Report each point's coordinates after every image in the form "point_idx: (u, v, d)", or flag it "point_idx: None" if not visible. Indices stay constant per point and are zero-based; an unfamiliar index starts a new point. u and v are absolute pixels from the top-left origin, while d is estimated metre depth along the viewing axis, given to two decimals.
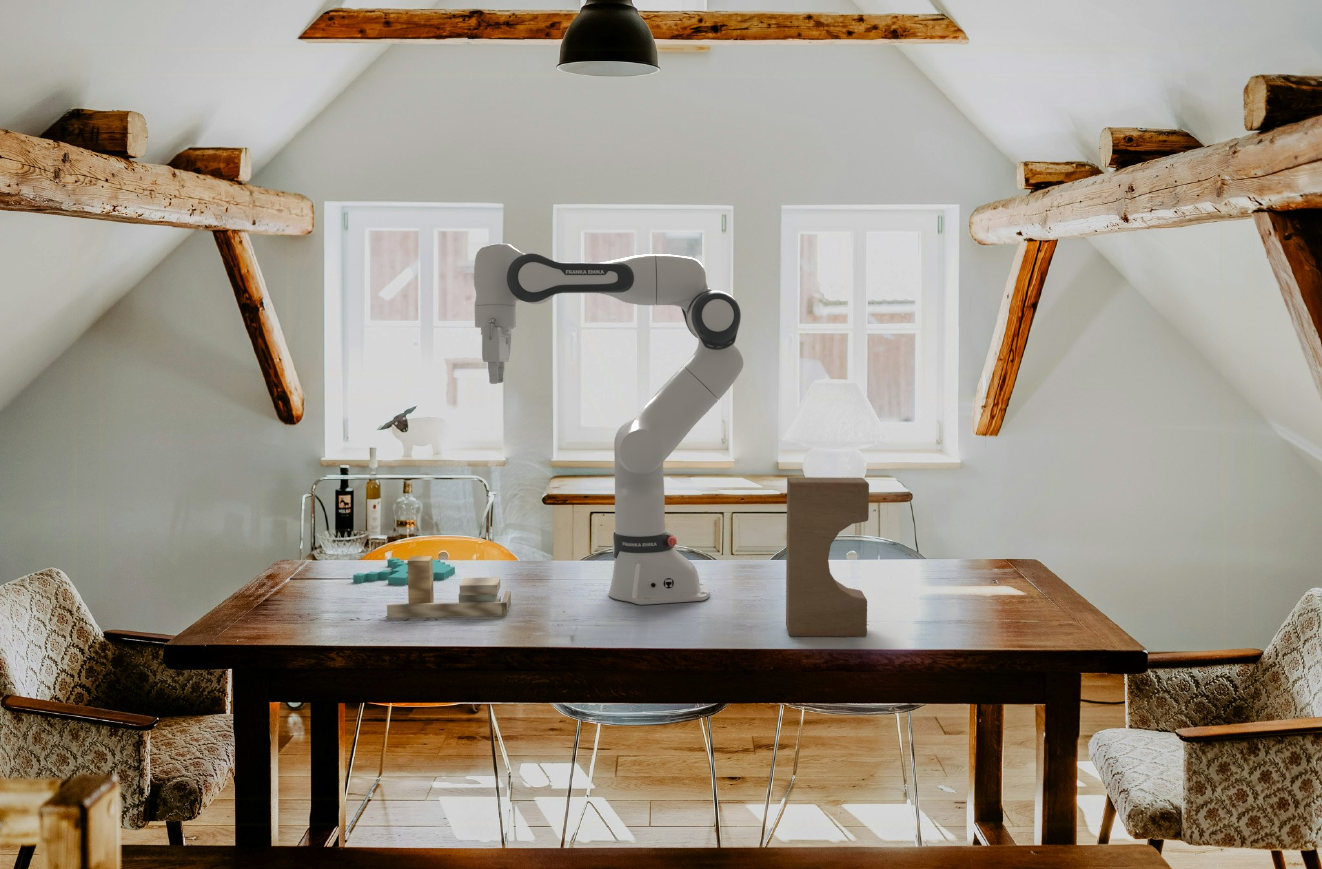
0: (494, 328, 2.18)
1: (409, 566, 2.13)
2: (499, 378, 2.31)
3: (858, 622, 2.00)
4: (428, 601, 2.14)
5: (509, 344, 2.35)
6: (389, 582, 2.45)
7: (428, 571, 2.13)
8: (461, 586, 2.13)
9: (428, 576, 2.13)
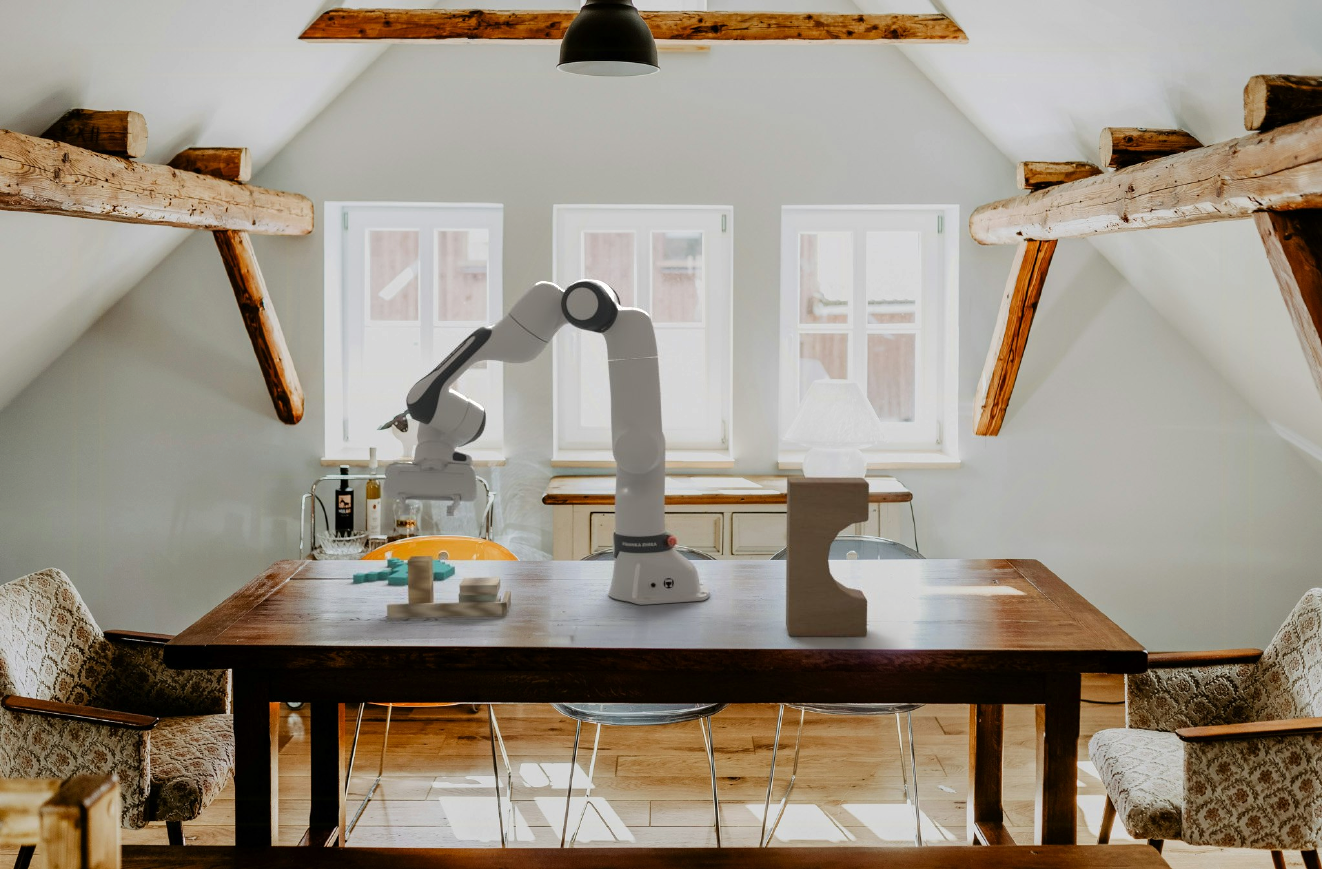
0: None
1: (409, 566, 2.13)
2: (447, 510, 2.27)
3: (858, 622, 2.00)
4: (428, 601, 2.14)
5: (470, 478, 2.31)
6: (389, 582, 2.45)
7: (428, 571, 2.13)
8: (461, 586, 2.13)
9: (428, 576, 2.13)
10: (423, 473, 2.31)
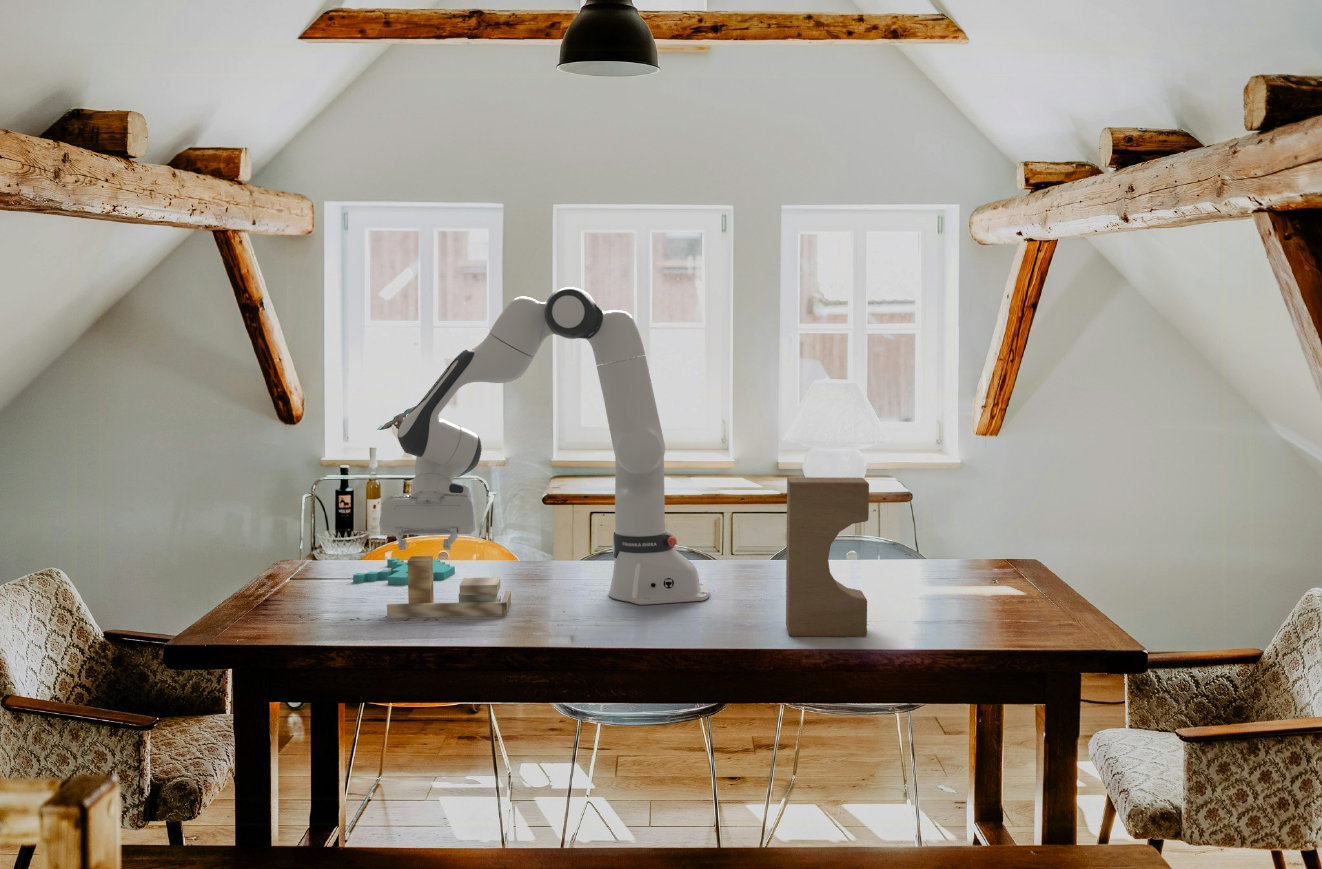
0: None
1: (409, 566, 2.13)
2: None
3: (858, 622, 2.00)
4: (428, 601, 2.14)
5: (467, 509, 2.26)
6: (389, 582, 2.45)
7: (428, 571, 2.13)
8: (461, 586, 2.13)
9: (428, 576, 2.13)
10: (420, 506, 2.27)
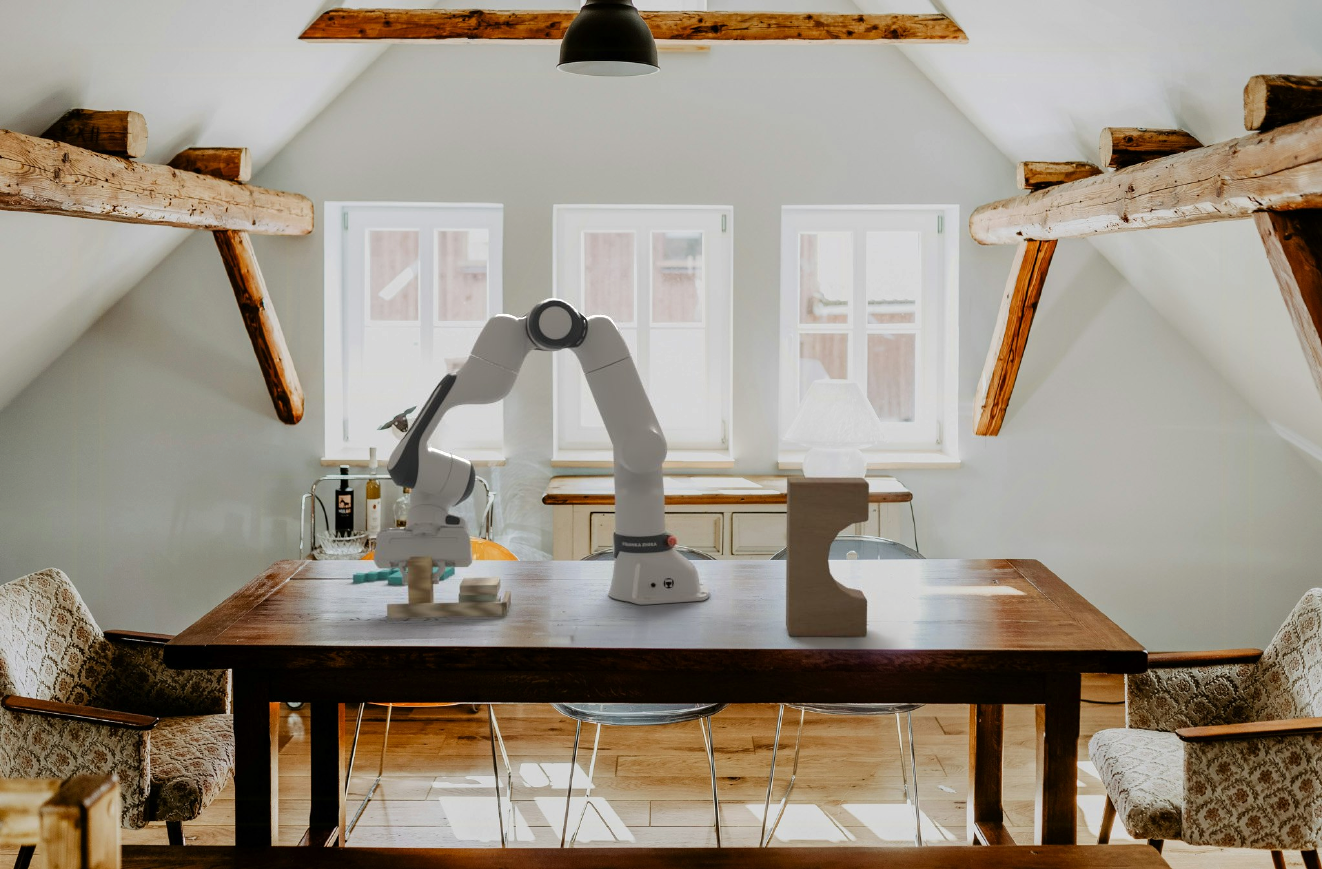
0: None
1: (409, 566, 2.13)
2: None
3: (858, 622, 2.00)
4: (428, 601, 2.14)
5: (463, 542, 2.19)
6: (389, 582, 2.45)
7: (428, 571, 2.13)
8: (461, 586, 2.13)
9: (428, 576, 2.13)
10: (415, 539, 2.20)
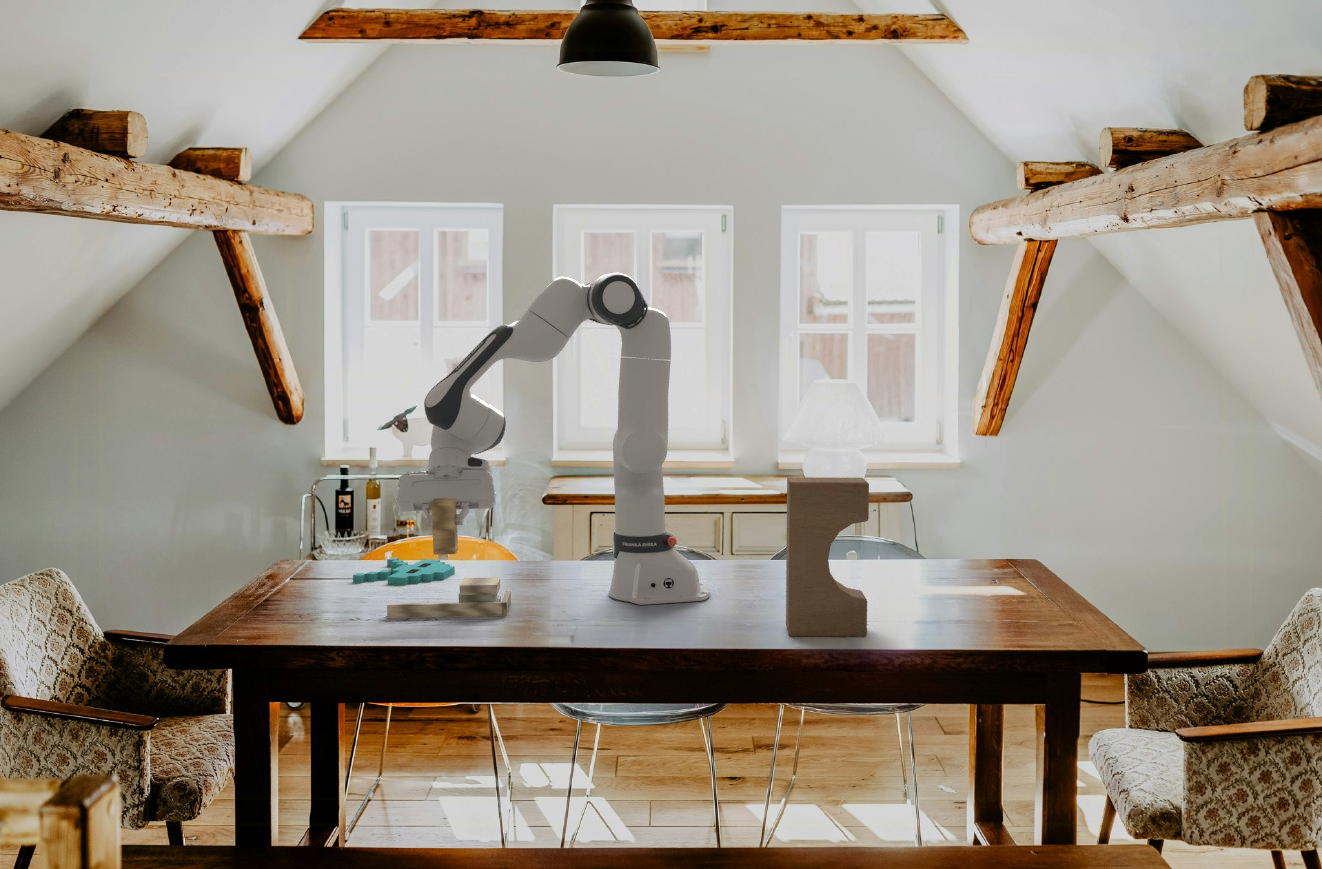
0: None
1: (433, 507, 2.12)
2: None
3: (858, 622, 2.00)
4: (453, 542, 2.13)
5: (486, 483, 2.19)
6: (389, 582, 2.45)
7: (452, 511, 2.13)
8: (461, 586, 2.13)
9: (452, 516, 2.13)
10: (438, 481, 2.19)
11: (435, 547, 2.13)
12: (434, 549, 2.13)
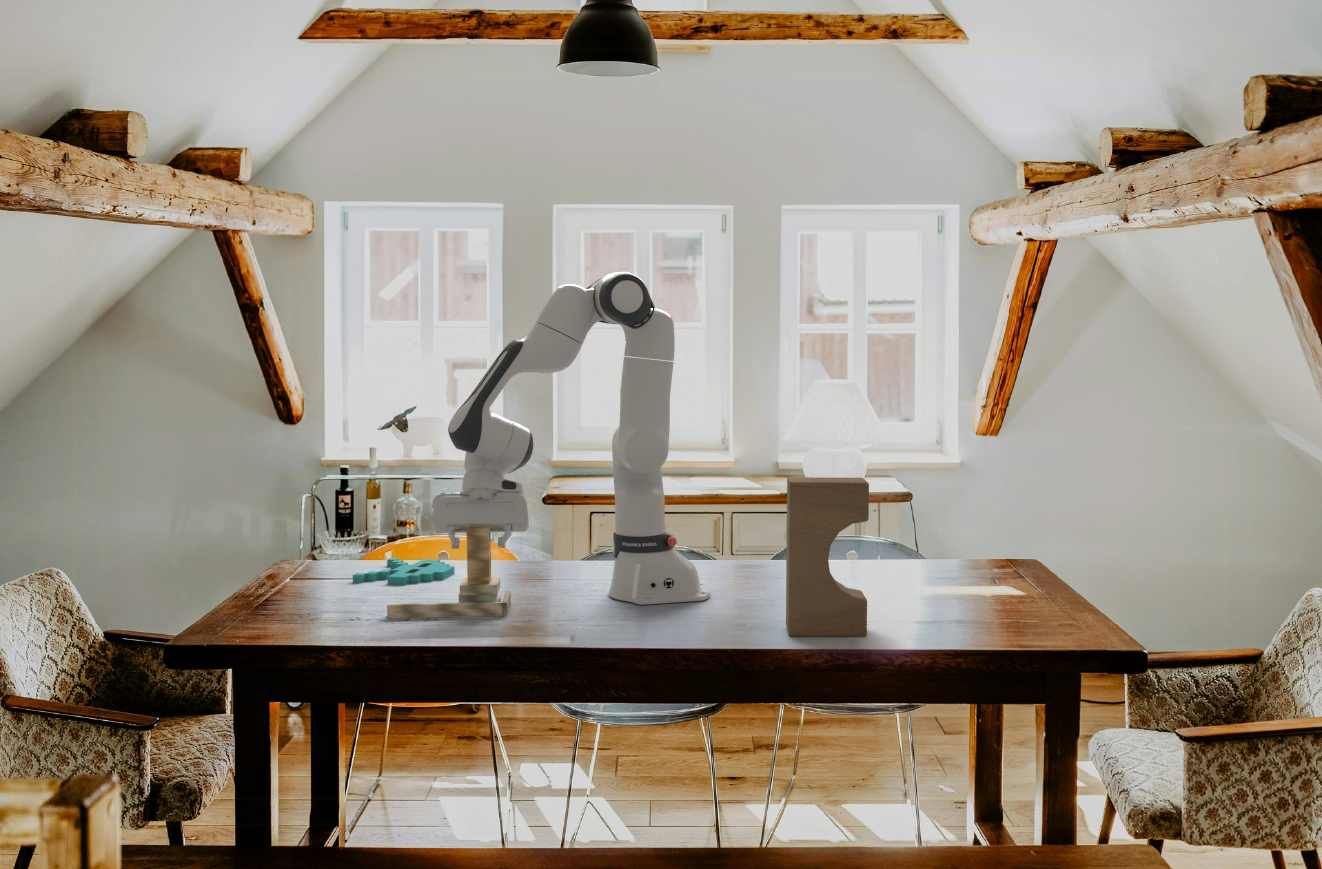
0: None
1: (468, 536, 2.13)
2: None
3: (858, 622, 2.00)
4: (487, 571, 2.14)
5: (520, 506, 2.19)
6: (389, 582, 2.45)
7: (487, 541, 2.13)
8: (461, 586, 2.13)
9: (487, 546, 2.14)
10: (472, 504, 2.20)
11: (469, 577, 2.14)
12: (468, 578, 2.14)
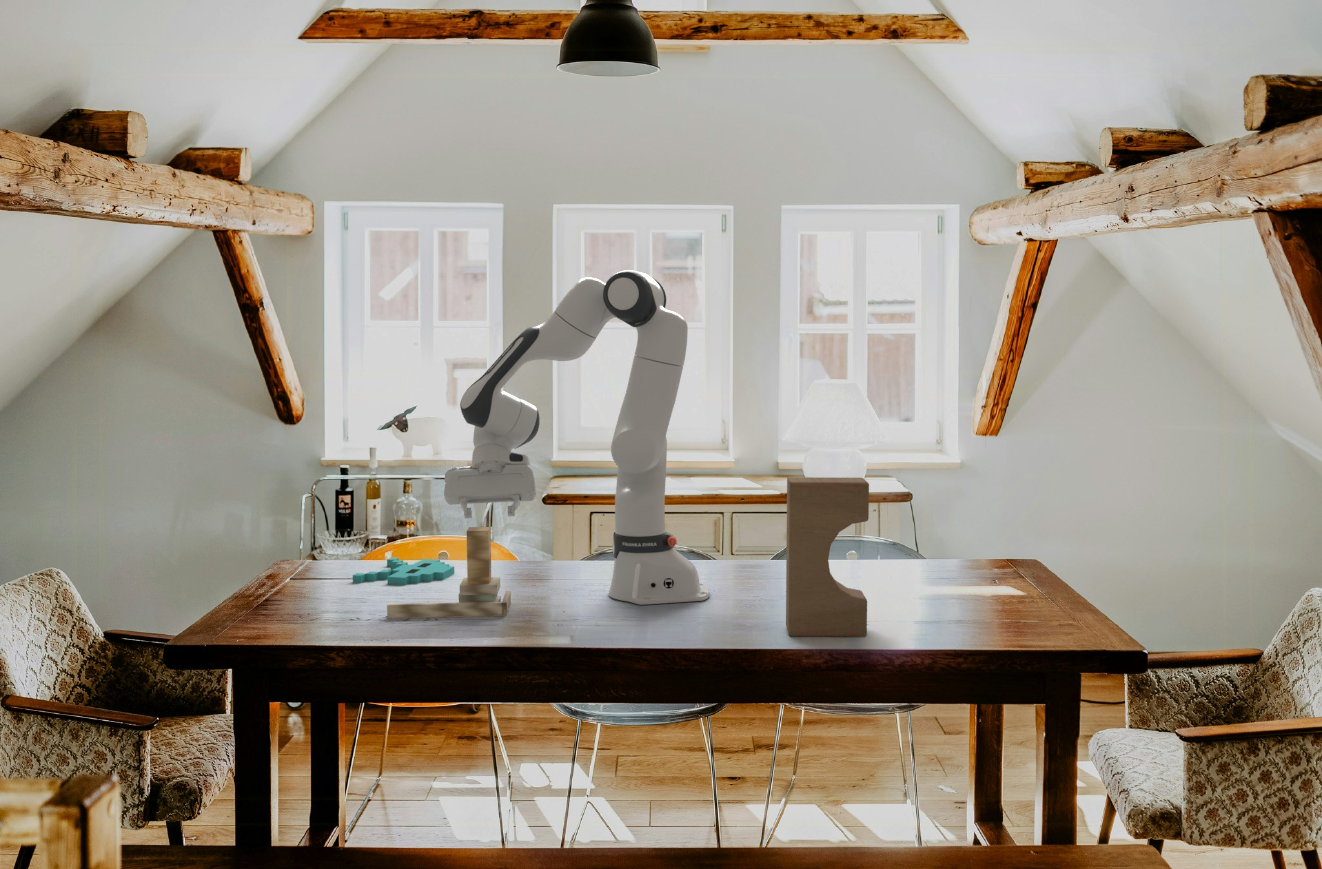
0: None
1: (468, 536, 2.13)
2: (508, 510, 2.29)
3: (858, 622, 2.00)
4: (487, 571, 2.14)
5: (528, 477, 2.33)
6: (388, 582, 2.45)
7: (487, 541, 2.13)
8: (461, 586, 2.13)
9: (487, 546, 2.14)
10: (482, 476, 2.33)
11: (469, 577, 2.14)
12: (468, 578, 2.14)
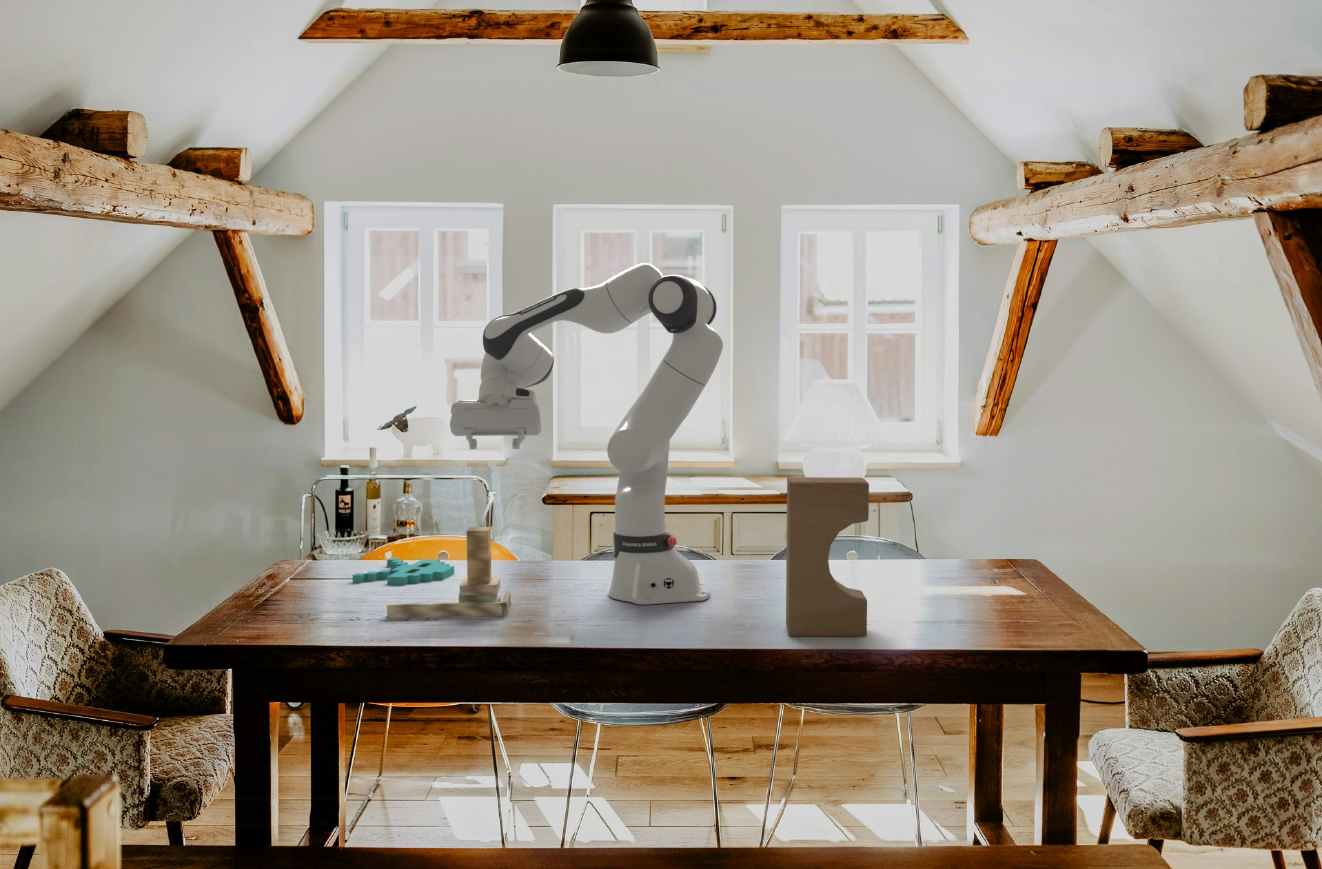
0: None
1: (468, 536, 2.13)
2: None
3: (858, 622, 2.00)
4: (487, 571, 2.14)
5: (533, 412, 2.35)
6: (388, 582, 2.45)
7: (487, 541, 2.13)
8: (461, 586, 2.13)
9: (487, 546, 2.14)
10: (488, 409, 2.35)
11: (469, 577, 2.14)
12: (468, 578, 2.14)
